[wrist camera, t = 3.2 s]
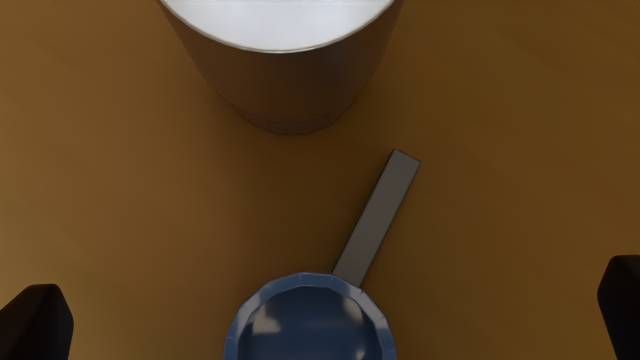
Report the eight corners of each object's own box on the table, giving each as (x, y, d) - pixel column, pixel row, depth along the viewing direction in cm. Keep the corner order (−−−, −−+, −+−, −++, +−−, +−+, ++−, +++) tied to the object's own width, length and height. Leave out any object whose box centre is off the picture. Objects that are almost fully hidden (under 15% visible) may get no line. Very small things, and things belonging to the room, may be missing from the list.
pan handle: (357, 288, 22) (359, 289, 21) (329, 274, 22) (330, 275, 21) (418, 164, 22) (422, 161, 22) (391, 151, 22) (394, 147, 22)
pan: (342, 452, 22) (348, 484, 19) (207, 380, 22) (191, 400, 19) (409, 312, 22) (425, 321, 19) (277, 243, 23) (272, 242, 20)
